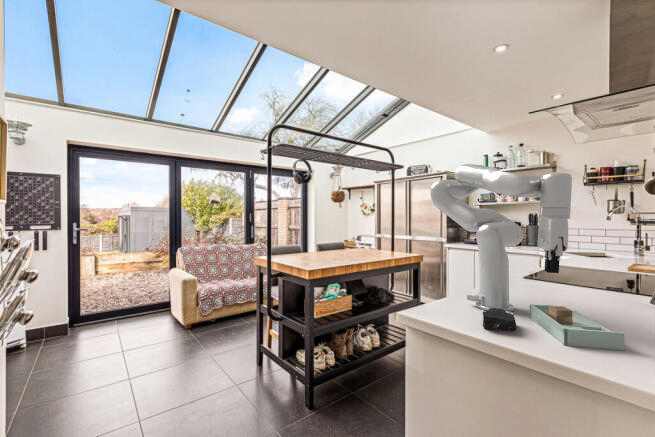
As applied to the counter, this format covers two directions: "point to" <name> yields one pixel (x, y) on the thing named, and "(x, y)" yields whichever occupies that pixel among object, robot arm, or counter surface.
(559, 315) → the walnut block
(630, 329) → the counter surface
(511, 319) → the rock
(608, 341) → the tray
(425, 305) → the counter surface
